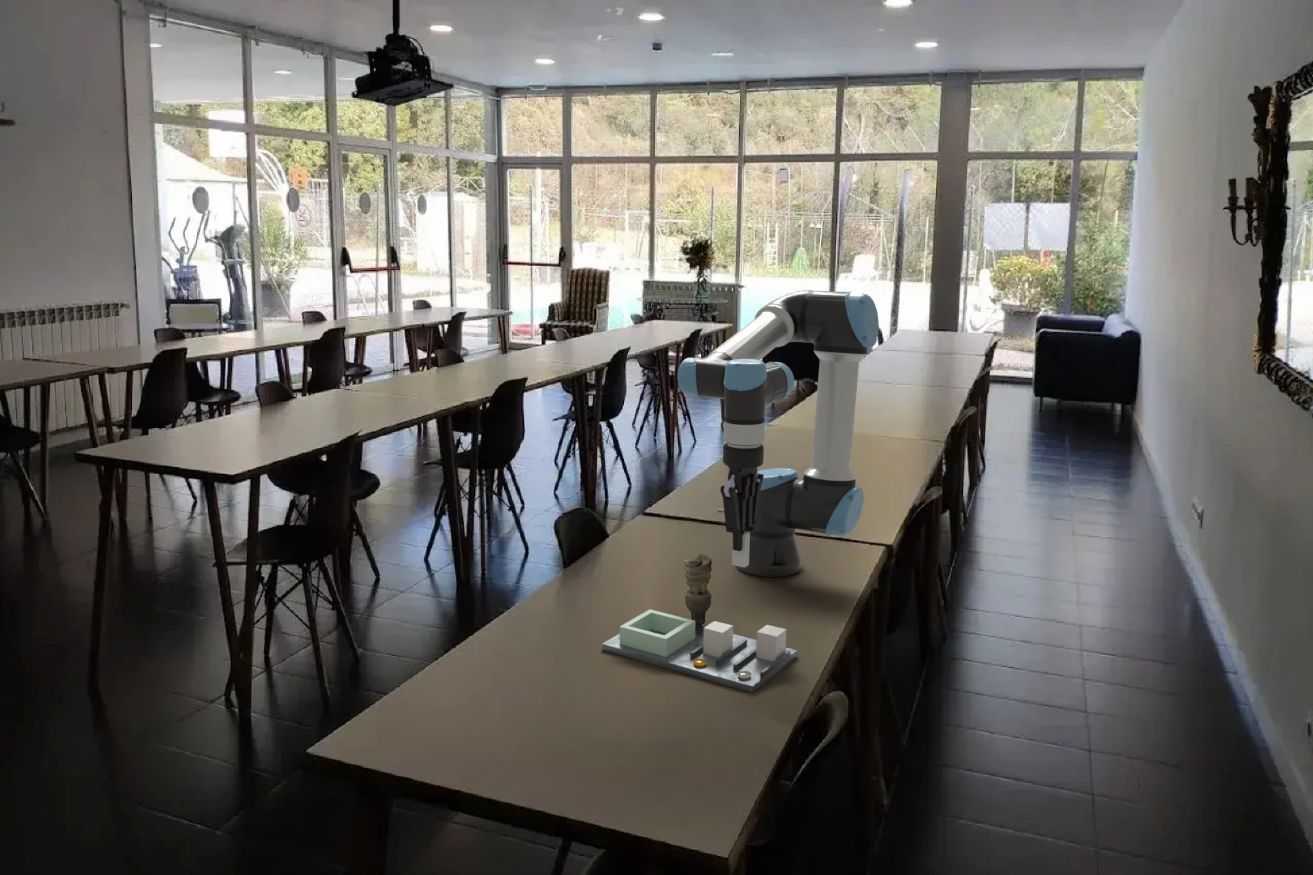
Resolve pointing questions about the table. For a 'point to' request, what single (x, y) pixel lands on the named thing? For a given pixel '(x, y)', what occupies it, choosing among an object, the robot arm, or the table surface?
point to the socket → (663, 645)
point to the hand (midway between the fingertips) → (740, 564)
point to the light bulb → (698, 586)
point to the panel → (712, 661)
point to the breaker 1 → (717, 639)
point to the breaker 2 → (770, 642)
